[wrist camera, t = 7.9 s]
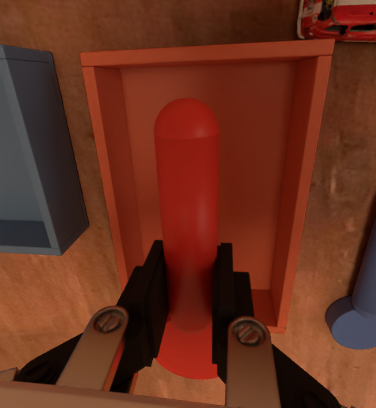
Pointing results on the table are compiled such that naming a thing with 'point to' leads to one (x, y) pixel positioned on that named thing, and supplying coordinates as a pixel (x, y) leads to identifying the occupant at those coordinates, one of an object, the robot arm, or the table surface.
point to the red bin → (228, 149)
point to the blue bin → (36, 159)
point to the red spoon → (188, 232)
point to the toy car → (338, 20)
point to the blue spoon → (358, 306)
